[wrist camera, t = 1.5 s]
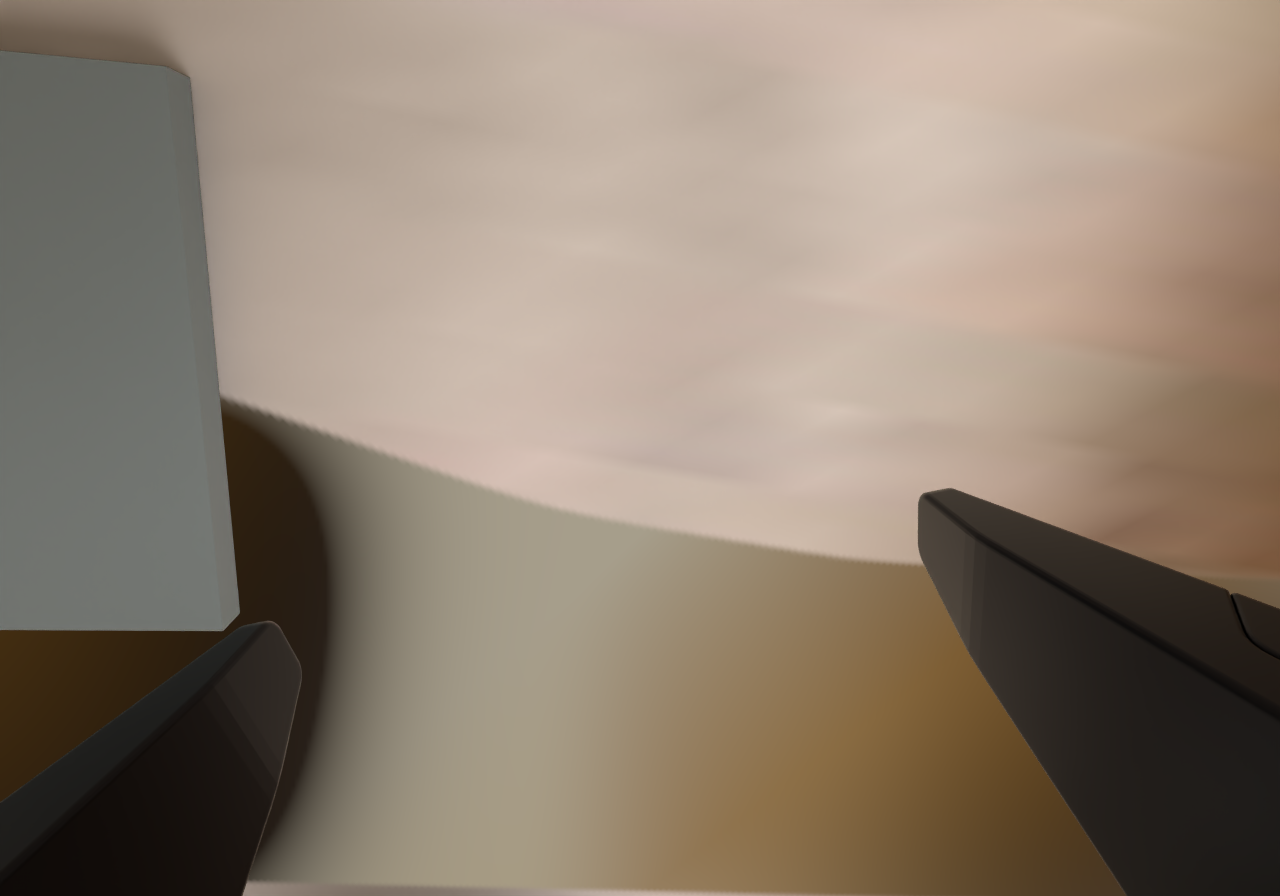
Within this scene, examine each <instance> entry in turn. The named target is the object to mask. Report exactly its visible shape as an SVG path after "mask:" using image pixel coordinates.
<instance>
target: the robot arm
mask: <svg viewBox="0 0 1280 896" xmlns="http://www.w3.org/2000/svg"><path fill="white" fill-rule="evenodd" d="M918 548H919V553H920V556H921V559H922V561H923V563H924V565H925V567H926V569H927V571H928V573H929V575H930V577H931V579H932V581H933V583H934V585H935V587H936V589H937V591H938V593H939V595H940V597H941V599H942V601H943V603H944V605H945V607H946V609H947V611H948V613H949V615H950V617H951V619H952V621H953V623H954V625H955V627H956V629H957V631H958V633H959V635H960V637H961V639H962V641H963V643H964V645H965V647H966V649H967V650H968V652H969V654H970V656H971V657H972V659H973V661H974V662H975V664H976V665H977V667H978V668H979V670H980V672H981V673H982V675H983V676H984V678H985V680H986V681H987V683H988V684H989V686H990V687H991V689H992V690H993V692H994V693H995V695H996V696H997V698H998V700H999V701H1000V703H1001V704H1002V705H1003V707H1004V709H1005V710H1006V712H1007V713H1008V715H1009V716H1010V718H1011V719H1012V721H1013V722H1014V724H1015V725H1016V727H1017V728H1018V730H1019V732H1020V733H1021V734H1022V736H1023V738H1024V739H1025V741H1026V742H1027V744H1028V746H1029V747H1030V749H1031V750H1032V752H1033V753H1034V755H1035V756H1036V758H1037V759H1038V761H1039V762H1040V764H1041V765H1042V767H1043V768H1044V770H1045V772H1046V773H1047V775H1048V776H1049V778H1050V779H1051V781H1052V782H1053V784H1054V785H1055V787H1056V789H1057V790H1058V792H1059V793H1060V795H1061V796H1062V798H1063V799H1064V801H1065V802H1066V804H1067V805H1068V807H1069V808H1070V810H1071V812H1072V813H1073V814H1074V816H1075V818H1076V819H1077V821H1078V822H1079V824H1080V825H1081V827H1082V828H1083V830H1084V831H1085V833H1086V835H1087V836H1088V838H1089V839H1090V840H1091V842H1092V844H1093V845H1094V847H1095V848H1096V850H1097V851H1098V853H1099V854H1100V856H1101V858H1102V859H1103V861H1104V862H1105V864H1106V865H1107V867H1108V868H1109V870H1110V871H1111V873H1112V874H1113V876H1114V878H1115V879H1116V881H1117V882H1118V884H1119V885H1120V887H1121V888H1122V890H1123V891H1124V893H1125V894H1126V896H1280V609H1279V608H1276V607H1273V606H1270V605H1268V604H1265V603H1262V602H1260V601H1257V600H1254V599H1252V598H1248V597H1246V596H1243V595H1241V594H1238V593H1233V594H1231V595H1230V593H1229V591H1228V590H1226V589H1224V588H1221V587H1219V586H1216V585H1213V584H1211V583H1208V582H1205V581H1202V580H1200V579H1197V578H1194V577H1192V576H1189V575H1186V574H1183V573H1181V572H1178V571H1175V570H1173V569H1170V568H1167V567H1164V566H1162V565H1159V564H1156V563H1154V562H1151V561H1148V560H1145V559H1143V558H1140V557H1137V556H1135V555H1132V554H1129V553H1126V552H1124V551H1121V550H1118V549H1116V548H1113V547H1110V546H1107V545H1105V544H1102V543H1099V542H1097V541H1094V540H1091V539H1088V538H1086V537H1083V536H1080V535H1078V534H1075V533H1072V532H1070V531H1067V530H1064V529H1061V528H1059V527H1056V526H1053V525H1051V524H1048V523H1045V522H1042V521H1040V520H1037V519H1034V518H1032V517H1029V516H1026V515H1023V514H1021V513H1018V512H1015V511H1013V510H1010V509H1007V508H1004V507H1002V506H999V505H996V504H994V503H991V502H988V501H985V500H983V499H980V498H977V497H975V496H972V495H969V494H966V493H964V492H961V491H958V490H956V489H952V488H946V489H942V490H937V491H931V492H926V493H923V494H922V495H921V496H920V498H919V502H918ZM301 679H302V672H301V666H300V663H299V661H298V659H297V658H296V655H295V654H294V652H293V650H292V649H291V647H290V645H289V643H288V642H287V639H286V638H285V636H284V634H283V632H282V631H281V629H280V627H279V626H278V625H277V624H276V623H274V622H271V621H265V622H259V623H254V624H249V625H245V626H242V627H240V628H238V629H237V630H235V631H234V632H232V633H231V634H230V635H228V636H227V637H226V638H224V639H223V640H221V641H220V642H219V643H217V644H216V645H215V646H213V647H212V648H211V649H209V650H208V651H206V652H205V653H204V654H202V655H201V656H200V657H198V658H197V659H196V660H194V661H193V662H192V663H190V664H189V665H187V666H186V667H185V668H183V669H182V670H181V671H179V672H178V673H176V674H175V675H174V676H172V677H171V678H170V679H168V680H167V681H165V682H164V683H163V684H161V685H160V686H159V687H157V688H156V689H155V690H153V691H152V692H150V693H149V694H148V695H146V696H145V697H144V698H142V699H141V700H140V701H138V702H137V703H136V704H134V705H133V706H131V707H130V708H129V709H127V710H126V711H125V712H123V713H122V714H120V715H119V716H118V717H116V718H115V719H114V720H112V721H111V722H109V723H108V724H107V725H105V726H104V727H103V728H101V729H100V730H99V731H97V732H96V733H95V734H93V735H92V736H90V737H89V738H88V739H86V740H85V741H84V742H82V743H81V744H79V745H78V746H77V747H75V748H74V749H73V750H71V751H70V752H68V753H67V754H66V755H64V756H63V757H62V758H60V759H59V760H58V761H56V762H55V763H53V764H52V765H51V766H49V767H48V768H47V769H45V770H44V771H43V772H41V773H40V774H38V775H37V776H36V777H34V778H33V779H32V780H30V781H29V782H28V783H26V784H25V785H23V786H22V787H21V788H19V789H18V790H17V791H15V792H14V793H13V794H11V795H10V796H9V797H7V798H6V799H4V800H3V801H2V802H0V896H242V895H243V892H244V889H245V886H246V883H247V880H248V877H249V874H250V871H251V868H252V865H253V862H254V859H255V856H256V853H257V849H258V847H259V844H260V840H261V837H262V834H263V831H264V828H265V825H266V822H267V819H268V816H269V813H270V810H271V807H272V804H273V801H274V797H275V794H276V790H277V787H278V783H279V779H280V776H281V772H282V768H283V763H284V759H285V754H286V749H287V745H288V740H289V736H290V731H291V727H292V722H293V717H294V713H295V708H296V704H297V699H298V694H299V690H300V685H301Z"/></svg>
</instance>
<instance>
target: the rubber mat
mask: <svg viewBox="0 0 1280 896" xmlns="http://www.w3.org/2000/svg"><path fill="white" fill-rule="evenodd" d="M239 613H240V609H239V598H238V588H237V577H236V567H235V556H234V545H233V534H232V524H231V513H230V503H229V492H228V481H227V470H226V461H225V449H224V438H223V427H222V417H221V406H220V395H219V385H218V374H217V363H216V353H215V342H214V331H213V321H212V310H211V299H210V289H209V278H208V267H207V257H206V246H205V235H204V225H203V214H202V203H201V193H200V182H199V171H198V161H197V150H196V139H195V129H194V118H193V107H192V97H191V86H190V78H189V77H187V76H185V75H183V74H181V73H179V72H177V71H175V70H173V69H170V68H168V67H166V66H158V65H148V64H137V63H127V62H116V61H106V60H95V59H85V58H74V57H64V56H53V55H43V54H32V53H22V52H11V51H1V50H0V630H136V631H137V630H138V631H139V630H140V631H155V630H156V631H224V629H225V628H226V627H227V626H228V625H229V624H230V623H231V622H232V621H233V620H234V619H235V618H236V617H237V615H238V614H239Z"/></svg>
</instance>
